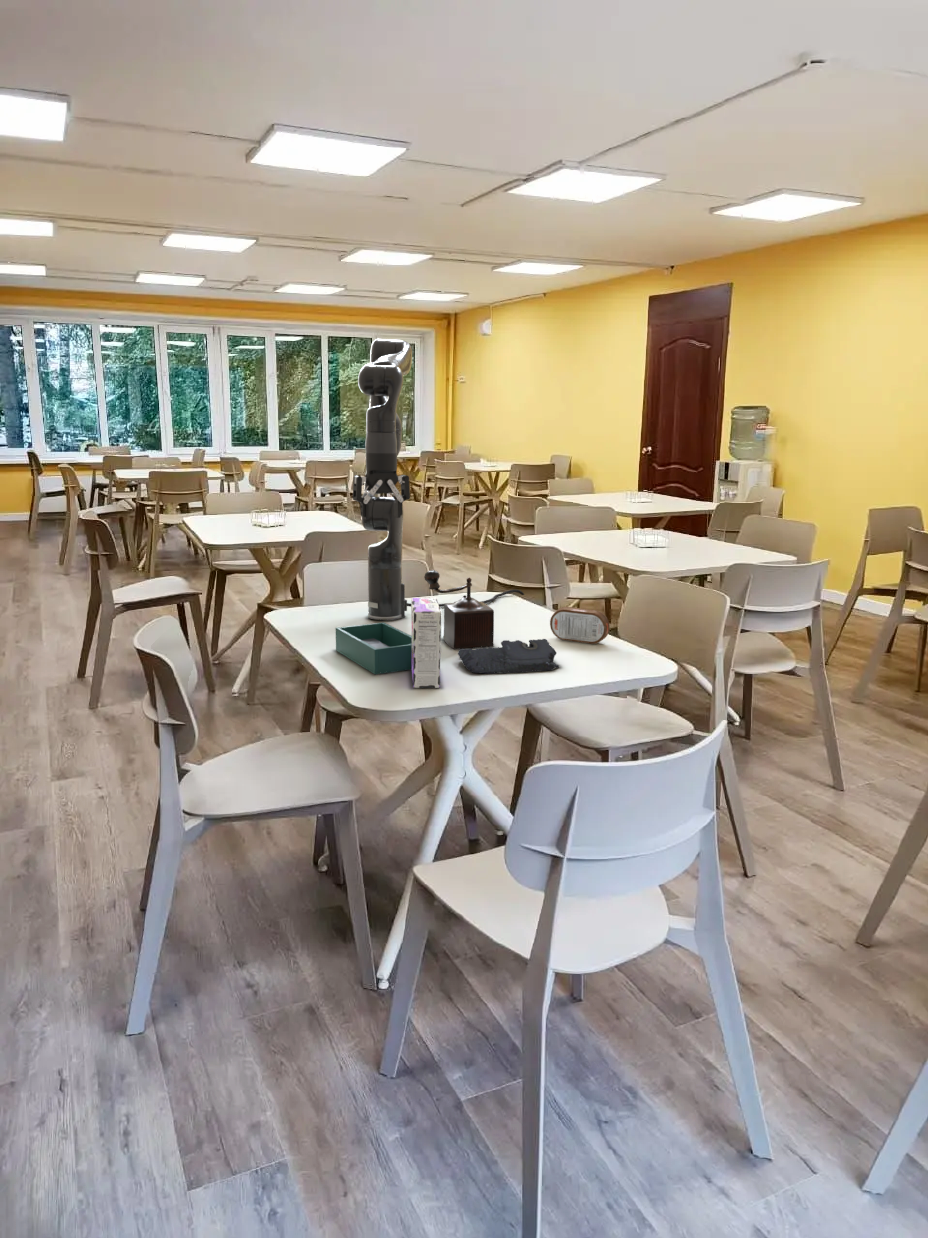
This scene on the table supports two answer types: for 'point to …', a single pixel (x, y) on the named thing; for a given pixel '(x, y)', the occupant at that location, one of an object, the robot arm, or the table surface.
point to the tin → (579, 625)
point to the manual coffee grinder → (465, 618)
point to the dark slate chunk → (510, 657)
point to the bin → (376, 658)
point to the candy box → (425, 642)
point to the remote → (375, 643)
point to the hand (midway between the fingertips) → (381, 518)
